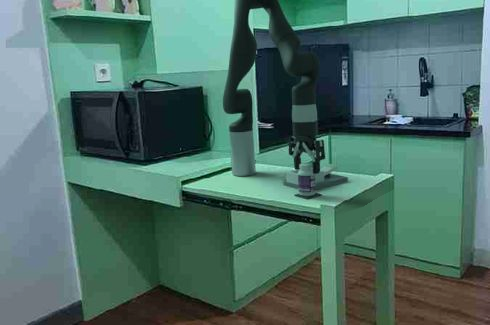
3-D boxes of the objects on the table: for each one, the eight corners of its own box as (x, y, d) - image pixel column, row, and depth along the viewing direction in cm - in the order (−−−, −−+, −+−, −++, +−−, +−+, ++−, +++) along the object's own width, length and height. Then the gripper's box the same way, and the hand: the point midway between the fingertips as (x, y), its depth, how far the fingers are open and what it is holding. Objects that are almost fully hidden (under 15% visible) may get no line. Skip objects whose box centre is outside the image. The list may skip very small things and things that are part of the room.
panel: (283, 185, 156) (282, 171, 155) (321, 175, 165) (321, 162, 164) (308, 191, 145) (307, 176, 144) (347, 181, 154) (347, 167, 153)
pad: (294, 195, 141) (294, 194, 141) (309, 191, 145) (309, 190, 144) (307, 199, 136) (307, 198, 136) (321, 195, 140) (321, 194, 139)
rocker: (313, 175, 157) (313, 171, 157) (330, 167, 161) (329, 163, 160) (321, 177, 154) (321, 173, 153) (338, 168, 157) (337, 164, 157)
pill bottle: (315, 196, 138) (314, 165, 136) (298, 196, 139) (296, 166, 137) (316, 191, 143) (315, 162, 141) (299, 192, 144) (298, 162, 142)
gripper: (280, 119, 140) (283, 170, 143) (311, 122, 128) (313, 177, 131) (299, 116, 144) (301, 166, 147) (330, 119, 132) (332, 172, 135)
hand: (306, 171), depth 139 cm, fingers open, 8 cm apart
